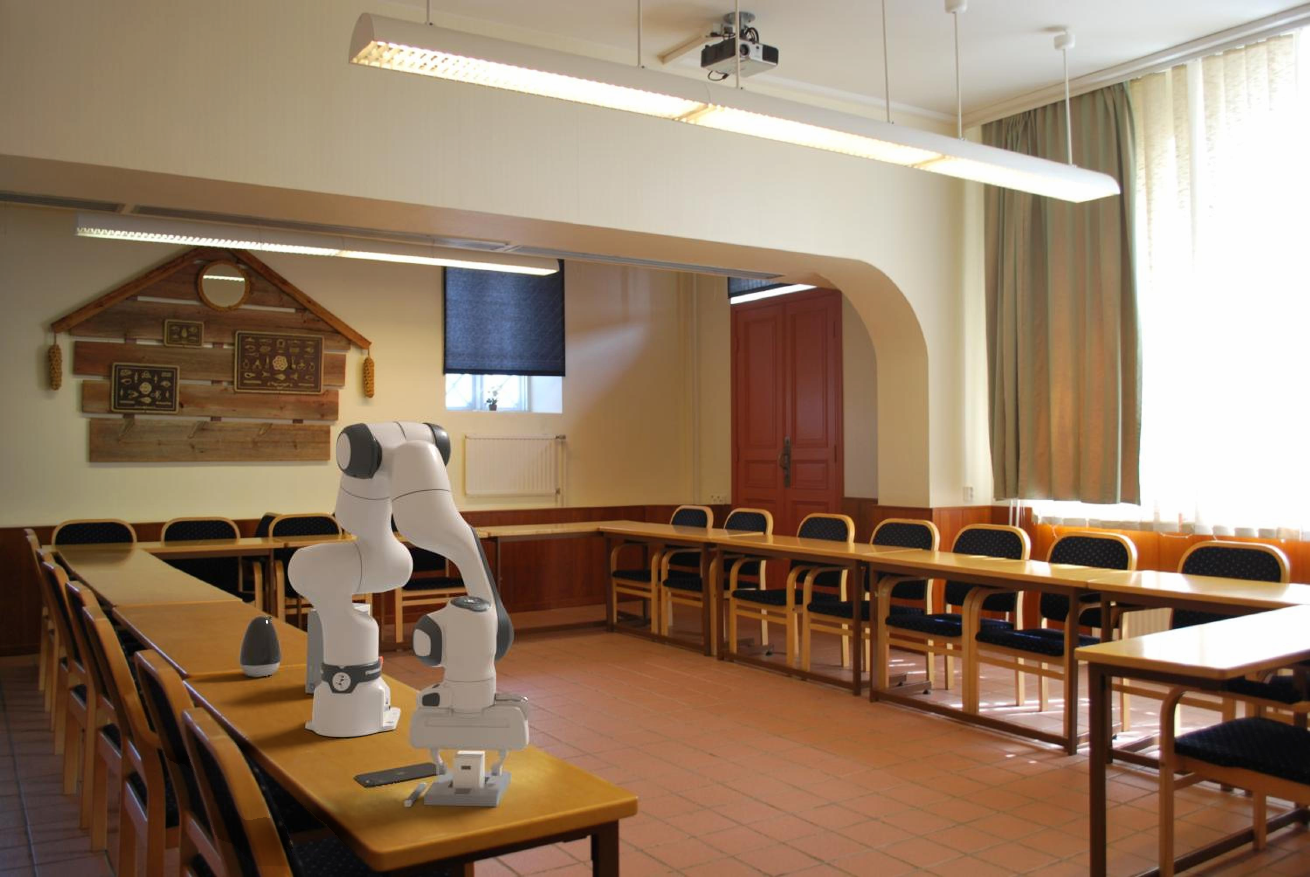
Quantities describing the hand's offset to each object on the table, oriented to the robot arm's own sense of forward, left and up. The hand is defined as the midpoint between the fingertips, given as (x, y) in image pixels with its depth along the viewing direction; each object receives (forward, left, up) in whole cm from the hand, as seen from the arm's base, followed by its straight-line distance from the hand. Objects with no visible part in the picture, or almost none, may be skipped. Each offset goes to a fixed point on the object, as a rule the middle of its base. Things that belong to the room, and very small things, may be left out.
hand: (469, 774), depth 178 cm
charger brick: (0, 0, -3) cm, 3 cm away
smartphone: (-9, -14, -4) cm, 17 cm away
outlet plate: (0, 0, -3) cm, 3 cm away
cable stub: (+3, -8, -3) cm, 9 cm away
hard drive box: (-74, -49, -3) cm, 89 cm away
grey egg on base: (-87, -73, -3) cm, 114 cm away
